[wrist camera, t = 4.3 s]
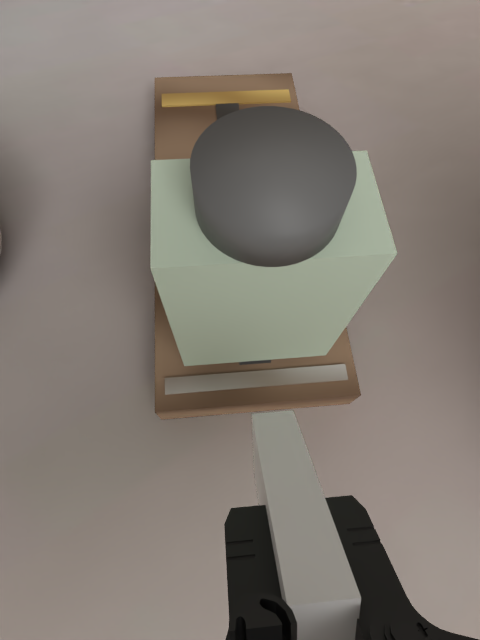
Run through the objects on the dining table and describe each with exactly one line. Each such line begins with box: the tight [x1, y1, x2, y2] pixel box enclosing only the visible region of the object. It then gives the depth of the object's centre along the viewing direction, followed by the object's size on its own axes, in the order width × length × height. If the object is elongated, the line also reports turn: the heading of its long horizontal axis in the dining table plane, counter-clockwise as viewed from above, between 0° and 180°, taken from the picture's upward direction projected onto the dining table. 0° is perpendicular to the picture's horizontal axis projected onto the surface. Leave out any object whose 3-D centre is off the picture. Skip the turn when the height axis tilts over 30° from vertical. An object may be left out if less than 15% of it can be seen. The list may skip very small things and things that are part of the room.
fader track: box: [155, 73, 361, 420], centre depth 25 cm, size 24×10×2 cm, turn 5°
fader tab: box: [150, 106, 397, 366], centre depth 15 cm, size 4×7×11 cm, turn 95°
